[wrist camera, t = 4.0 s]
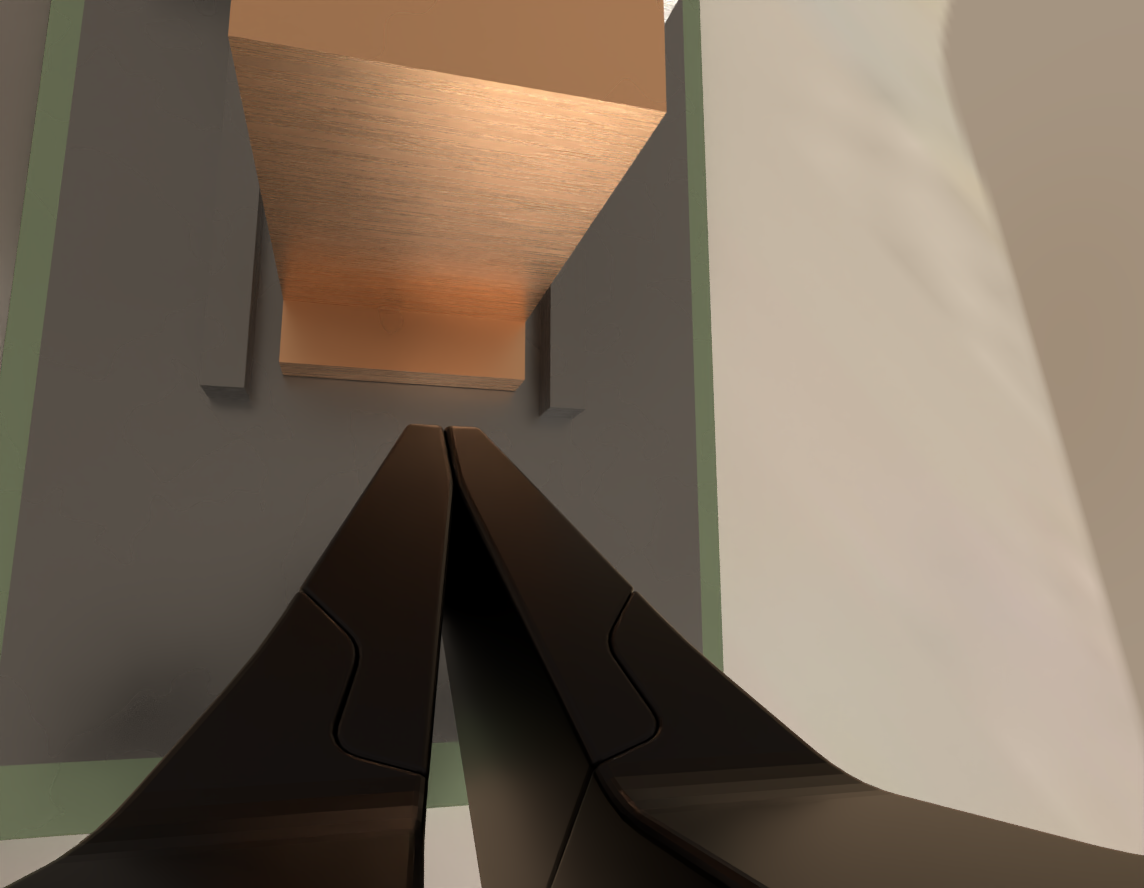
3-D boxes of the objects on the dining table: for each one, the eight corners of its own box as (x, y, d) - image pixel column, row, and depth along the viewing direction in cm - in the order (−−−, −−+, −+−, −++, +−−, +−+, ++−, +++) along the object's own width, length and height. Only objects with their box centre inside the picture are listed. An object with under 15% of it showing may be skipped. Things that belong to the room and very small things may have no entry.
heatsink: (718, 780, 19) (830, 837, 15) (-51, 836, 15) (-220, 941, 10) (688, -96, 24) (767, -253, 19) (94, -246, 20) (20, -493, 15)
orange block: (515, 390, 18) (668, 210, 9) (283, 375, 17) (218, 147, 8) (518, 76, 19) (654, -326, 11) (305, 38, 18) (271, -454, 10)
